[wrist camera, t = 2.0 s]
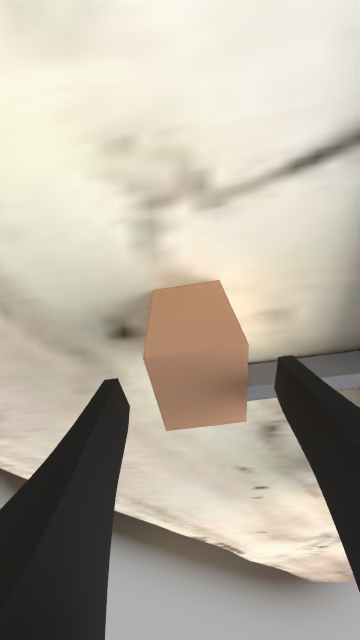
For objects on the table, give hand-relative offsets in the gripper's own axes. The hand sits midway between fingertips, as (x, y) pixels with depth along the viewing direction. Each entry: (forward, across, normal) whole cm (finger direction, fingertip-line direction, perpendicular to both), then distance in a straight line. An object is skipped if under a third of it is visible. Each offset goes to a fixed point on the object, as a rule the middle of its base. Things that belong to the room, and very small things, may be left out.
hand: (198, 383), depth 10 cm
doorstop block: (+5, 0, 0) cm, 5 cm away
